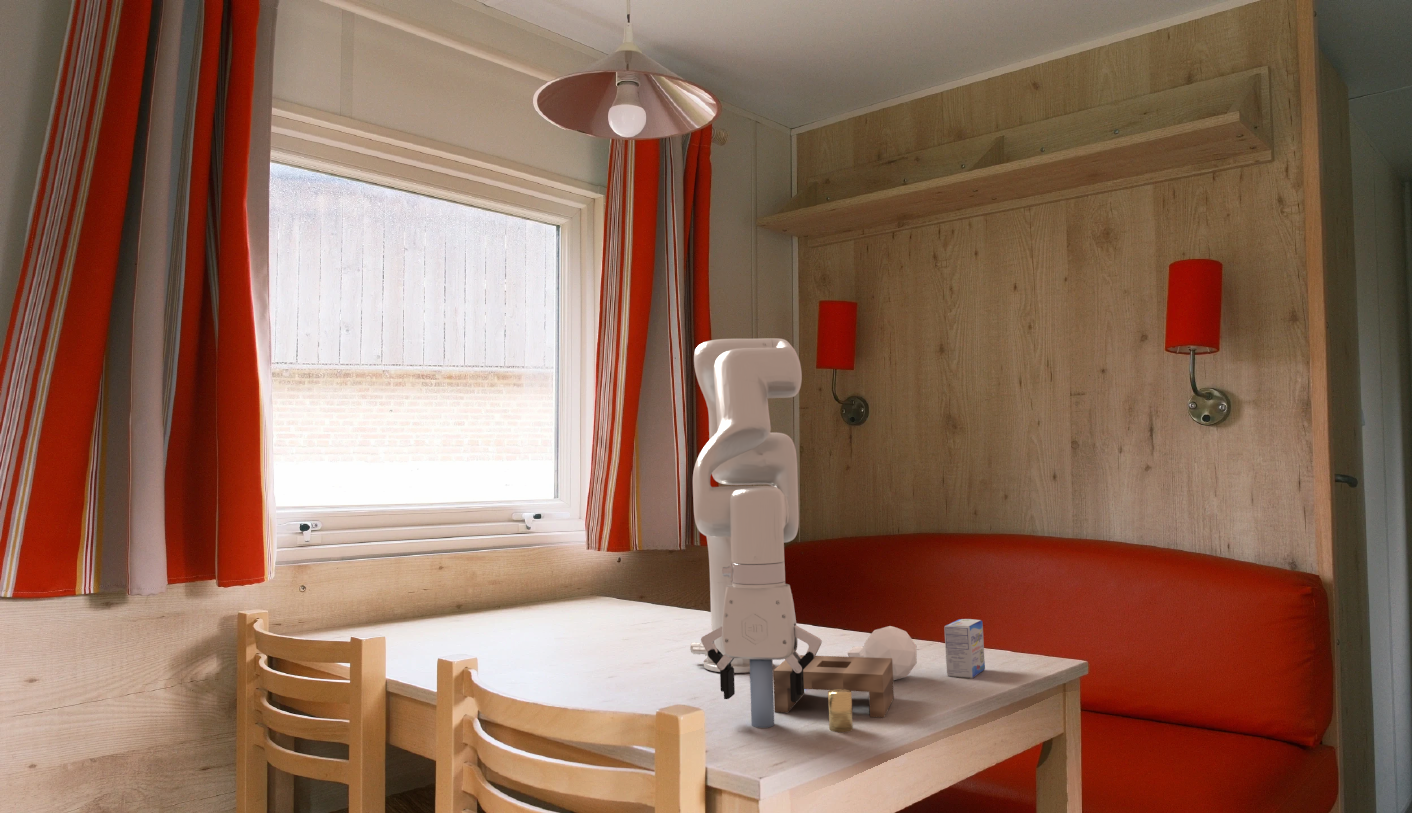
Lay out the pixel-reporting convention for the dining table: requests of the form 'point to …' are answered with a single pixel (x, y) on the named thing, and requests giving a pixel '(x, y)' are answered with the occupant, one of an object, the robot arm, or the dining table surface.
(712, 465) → the robot arm
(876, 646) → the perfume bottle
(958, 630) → the medicine box
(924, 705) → the dining table surface
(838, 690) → the short pin
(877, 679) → the hole board
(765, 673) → the long pin
